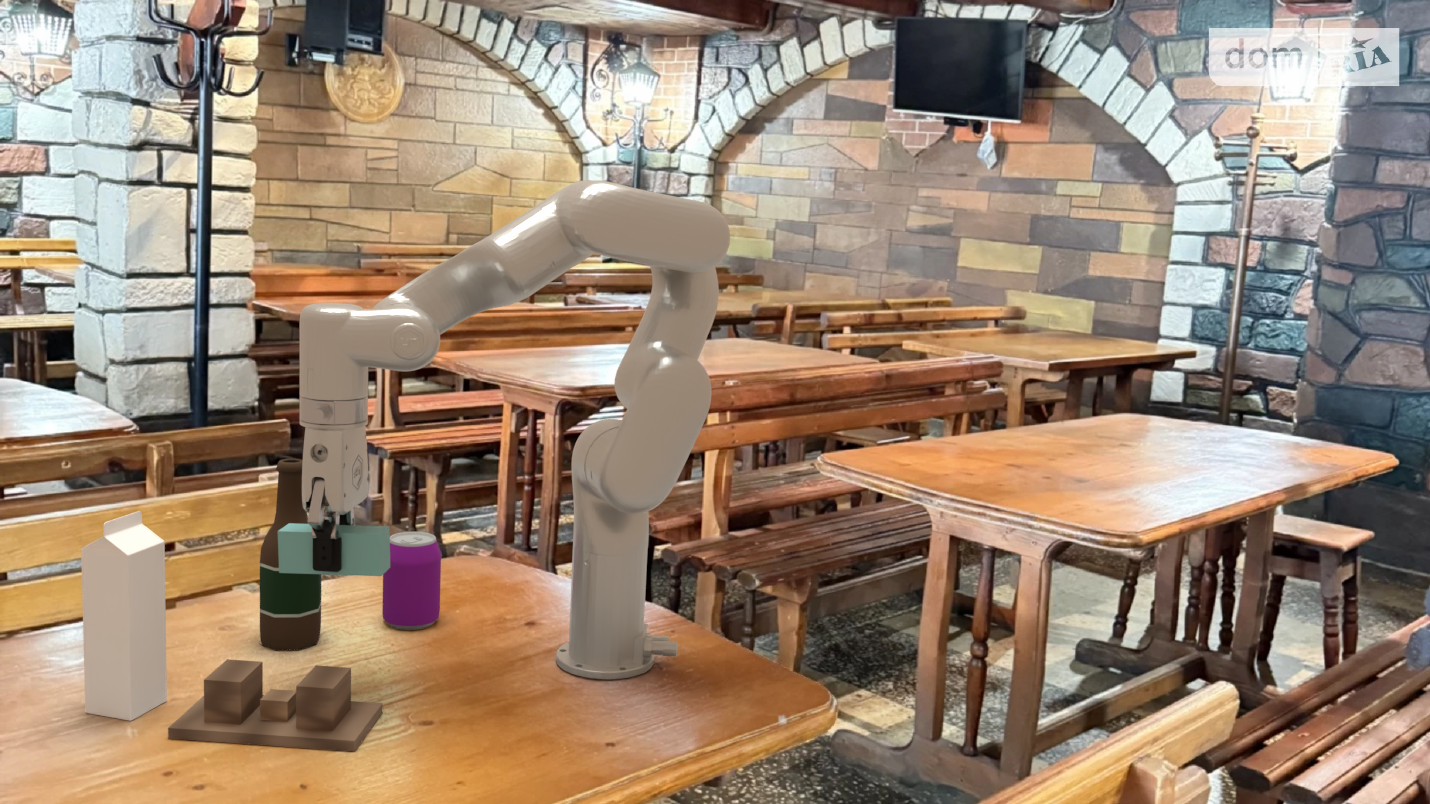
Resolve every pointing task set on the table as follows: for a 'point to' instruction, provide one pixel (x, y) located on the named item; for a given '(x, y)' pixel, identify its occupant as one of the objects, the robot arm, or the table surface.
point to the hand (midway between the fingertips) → (333, 563)
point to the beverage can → (412, 581)
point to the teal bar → (359, 550)
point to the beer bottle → (287, 575)
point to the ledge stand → (278, 710)
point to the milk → (124, 620)
